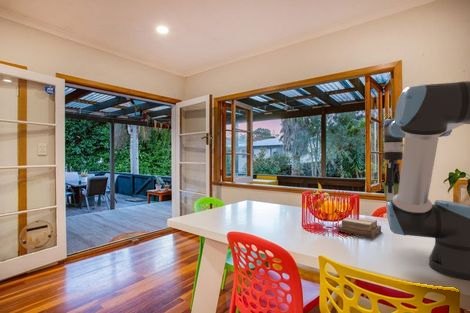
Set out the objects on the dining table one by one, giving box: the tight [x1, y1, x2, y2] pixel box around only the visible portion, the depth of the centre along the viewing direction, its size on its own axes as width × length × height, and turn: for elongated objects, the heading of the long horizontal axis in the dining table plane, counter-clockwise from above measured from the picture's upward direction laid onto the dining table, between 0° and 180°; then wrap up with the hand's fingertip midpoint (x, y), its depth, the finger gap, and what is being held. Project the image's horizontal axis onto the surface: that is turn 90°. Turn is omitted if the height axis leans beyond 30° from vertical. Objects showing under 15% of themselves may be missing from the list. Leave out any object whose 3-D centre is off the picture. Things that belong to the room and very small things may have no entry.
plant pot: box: [381, 182, 399, 203], centre depth 121 cm, size 9×9×9 cm
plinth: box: [337, 216, 382, 240], centre depth 132 cm, size 16×16×6 cm
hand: (393, 198), depth 121 cm, fingers closed on plant pot, 9 cm apart
